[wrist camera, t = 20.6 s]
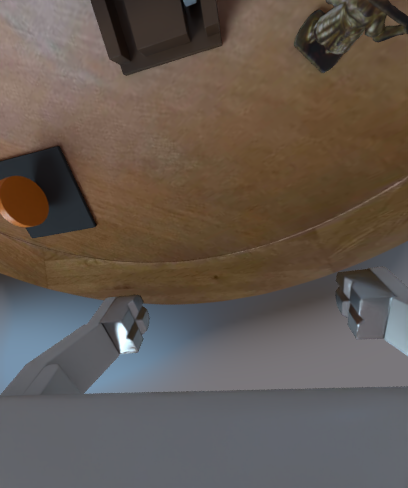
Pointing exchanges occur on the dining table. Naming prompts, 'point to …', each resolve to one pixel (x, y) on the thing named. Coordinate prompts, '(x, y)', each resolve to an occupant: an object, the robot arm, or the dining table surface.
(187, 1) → the grey disc
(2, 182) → the orange disc
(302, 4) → the dining table surface
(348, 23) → the figurine
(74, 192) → the mat
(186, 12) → the rack
